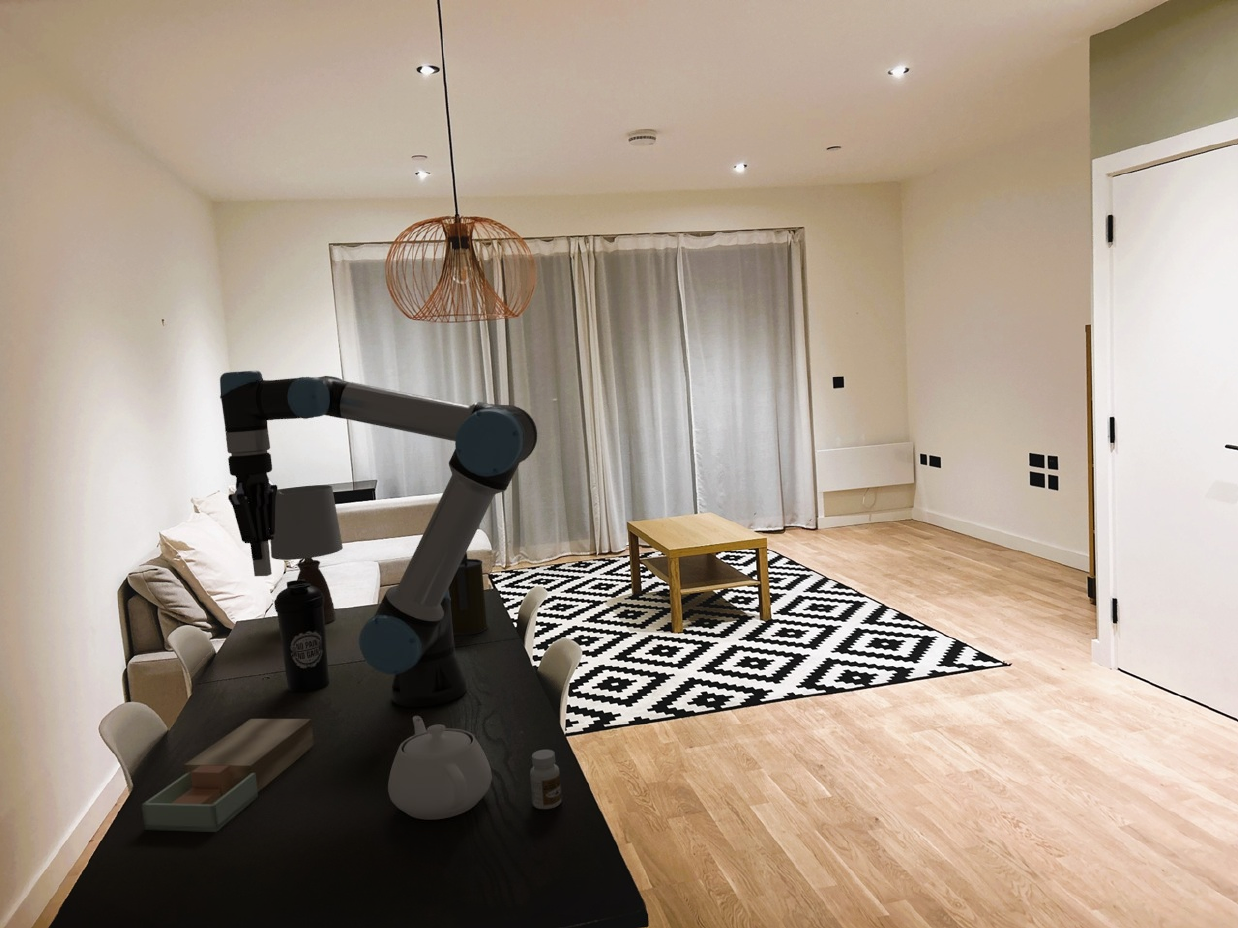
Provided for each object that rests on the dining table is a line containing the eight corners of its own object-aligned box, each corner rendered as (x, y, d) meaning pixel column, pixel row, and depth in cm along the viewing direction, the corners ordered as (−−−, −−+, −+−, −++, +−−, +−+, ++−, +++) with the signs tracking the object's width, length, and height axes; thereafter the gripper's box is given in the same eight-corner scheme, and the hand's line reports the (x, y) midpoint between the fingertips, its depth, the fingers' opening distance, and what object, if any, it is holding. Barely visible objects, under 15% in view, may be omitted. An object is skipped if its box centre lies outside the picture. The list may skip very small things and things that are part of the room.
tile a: (229, 765, 145) (219, 772, 143) (232, 795, 146) (223, 802, 143) (200, 765, 146) (190, 772, 144) (204, 794, 147) (194, 802, 144)
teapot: (516, 821, 133) (510, 740, 132) (410, 851, 126) (403, 766, 125) (464, 760, 155) (459, 690, 154) (372, 783, 148) (366, 710, 147)
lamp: (363, 613, 257) (350, 484, 253) (317, 633, 240) (302, 494, 236) (312, 610, 265) (299, 484, 261) (264, 629, 248) (248, 495, 244)
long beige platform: (313, 745, 166) (311, 718, 165) (254, 794, 147) (250, 765, 147) (254, 744, 168) (250, 718, 167) (187, 793, 149) (184, 764, 149)
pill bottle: (550, 812, 135) (546, 762, 134) (526, 806, 137) (522, 757, 136) (567, 799, 138) (563, 750, 137) (544, 794, 141) (540, 745, 140)
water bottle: (287, 697, 192) (275, 591, 190) (281, 684, 201) (269, 582, 199) (337, 687, 197) (325, 582, 194) (328, 674, 206) (317, 574, 203)
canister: (448, 626, 239) (441, 551, 237) (488, 622, 240) (482, 547, 238) (445, 638, 228) (438, 559, 226) (487, 633, 229) (480, 555, 227)
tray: (258, 796, 147) (255, 772, 146) (216, 831, 136) (213, 806, 135) (191, 795, 149) (188, 771, 148) (145, 829, 138) (141, 804, 138)
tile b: (199, 804, 138) (201, 820, 138) (220, 788, 143) (221, 804, 143) (170, 803, 139) (172, 819, 139) (191, 788, 144) (193, 803, 144)
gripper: (251, 450, 180) (264, 567, 182) (210, 458, 167) (225, 584, 170) (285, 448, 178) (298, 566, 181) (247, 456, 166) (261, 583, 168)
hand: (263, 575), depth 175 cm, fingers closed
